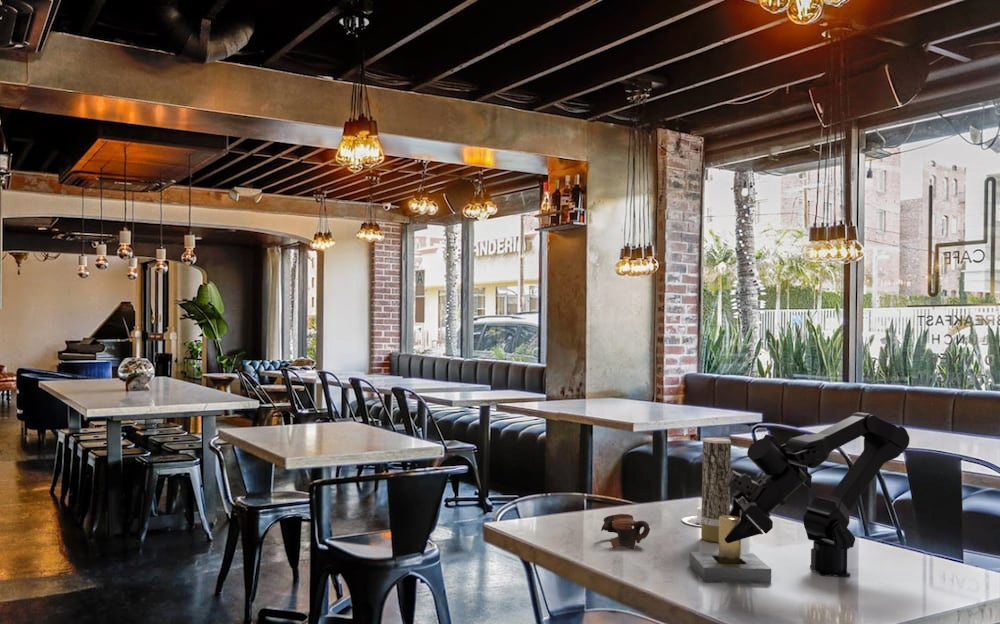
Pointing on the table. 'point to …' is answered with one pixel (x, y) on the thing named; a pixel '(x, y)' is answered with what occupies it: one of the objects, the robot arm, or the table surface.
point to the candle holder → (694, 517)
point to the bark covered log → (715, 485)
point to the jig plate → (730, 568)
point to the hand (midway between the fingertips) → (723, 536)
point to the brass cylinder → (728, 551)
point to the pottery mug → (625, 530)
